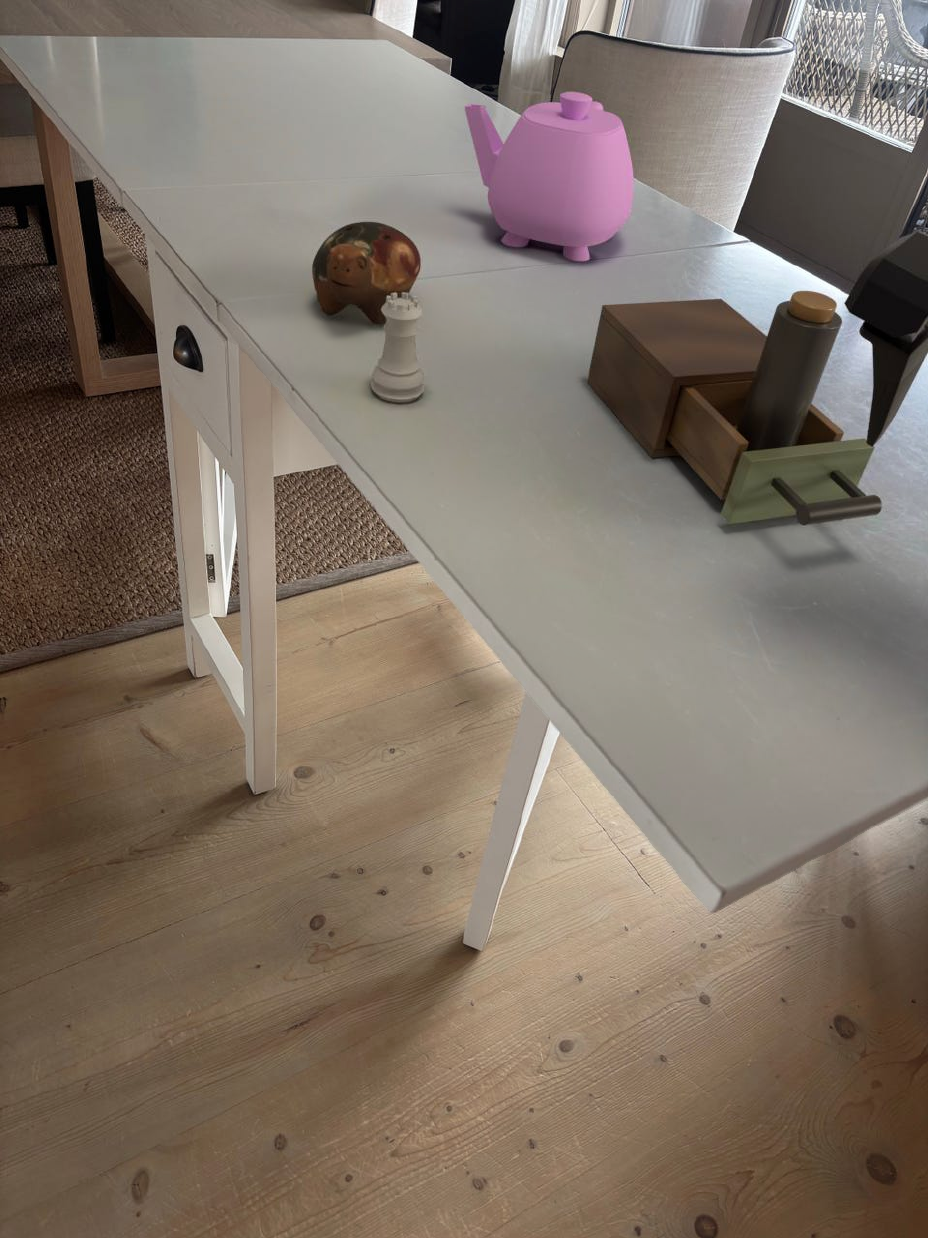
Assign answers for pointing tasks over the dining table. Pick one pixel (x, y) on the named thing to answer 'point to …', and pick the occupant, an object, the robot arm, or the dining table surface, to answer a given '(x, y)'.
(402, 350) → the rook chess piece
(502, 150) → the teapot
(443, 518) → the dining table surface
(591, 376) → the cabinet
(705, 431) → the drawer
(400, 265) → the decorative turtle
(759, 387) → the pepper mill
